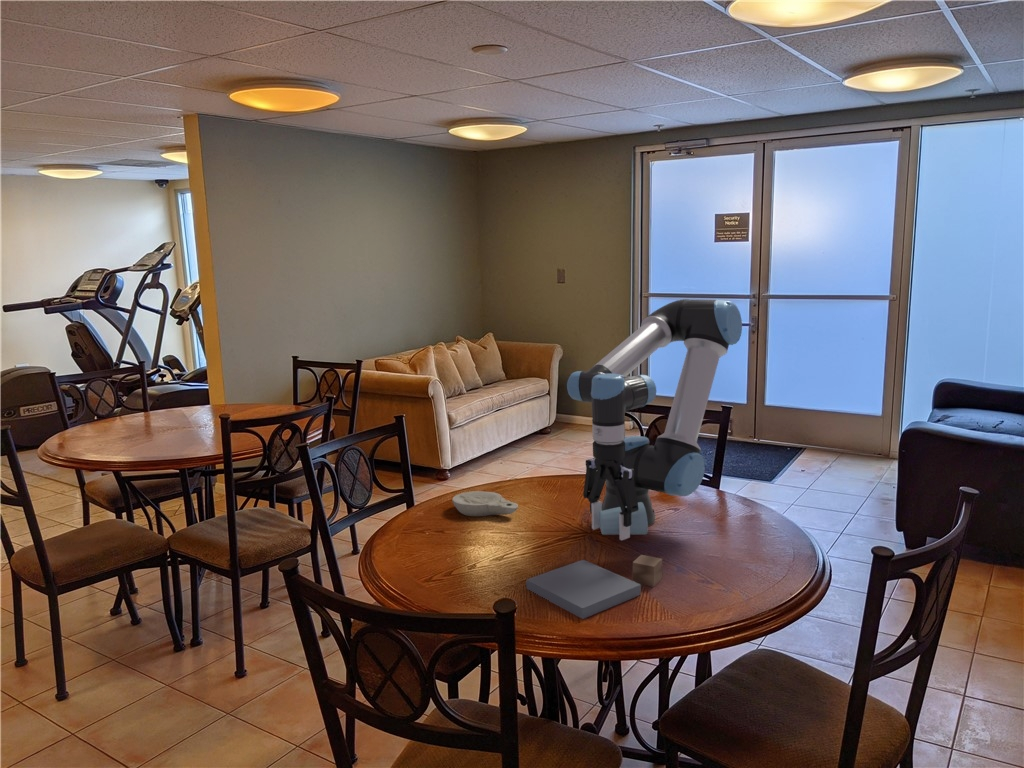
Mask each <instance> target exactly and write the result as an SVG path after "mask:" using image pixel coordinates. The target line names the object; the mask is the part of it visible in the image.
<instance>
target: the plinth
mask: <svg viewBox="0 0 1024 768" xmlns="http://www.w3.org/2000/svg"><path fill="white" fill-rule="evenodd" d="M525 584H526V590H528V591H529V590H530V591H529V592H531V591H532V592H531V593H533V592H534V593H533V594H535V593H536V594H535V595H537V594H538V595H537V596H539V597H541V598H542V597H543V598H542V599H544V598H545V599H544V600H546V599H547V600H546V601H548V600H549V601H548V602H550V603H551V604H554V605H555V606H557V607H560V608H561V609H563V610H564V611H567V612H568V613H571V614H572V615H574V616H576V617H578V618H580V619H581V620H584V619H587V618H588V617H591V616H593V615H596V614H598V613H601V612H603V611H605V610H608V609H611V608H612V607H615V606H617V605H619V604H622V603H624V602H627V601H629V600H631V599H634V598H636V597H638V596H641V595H642V584H639V583H636V582H634V581H633V579H632V580H631V579H629V578H628V577H625V576H622V575H620V574H618V573H615V572H613V571H611V570H609V569H606V568H604V567H601V566H599V565H598V564H594V563H592V562H590V561H587V560H585V559H581V560H577V561H575V562H572V563H569V564H566V565H563V566H561V567H558V568H555V569H552V570H550V571H547V572H544V573H541V574H538V575H535V576H533V577H530V578H527V579H526V583H525Z"/></svg>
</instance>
